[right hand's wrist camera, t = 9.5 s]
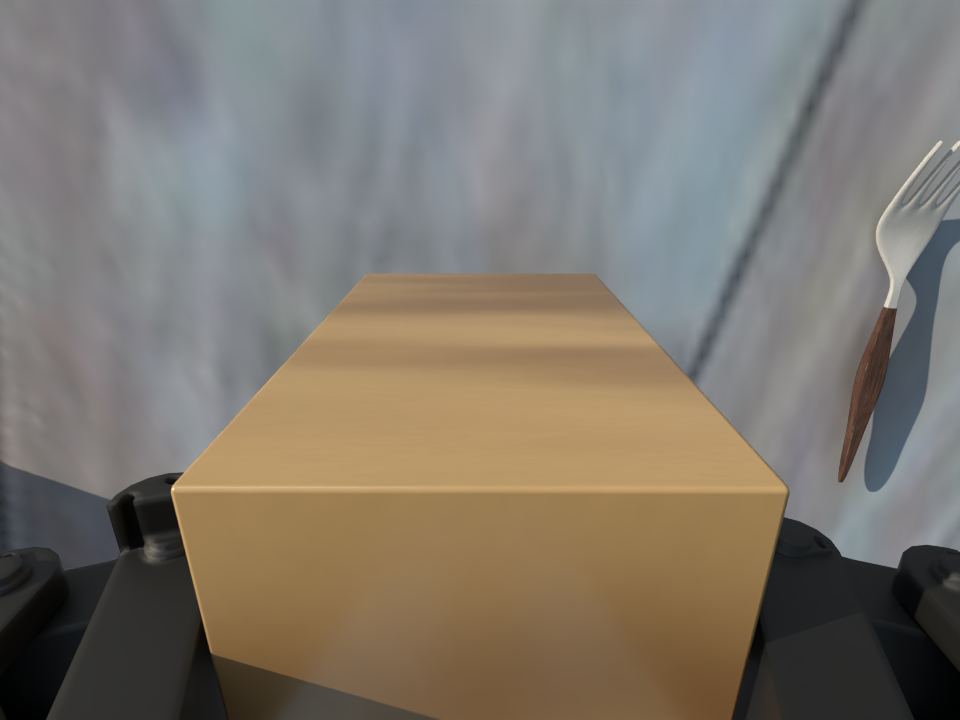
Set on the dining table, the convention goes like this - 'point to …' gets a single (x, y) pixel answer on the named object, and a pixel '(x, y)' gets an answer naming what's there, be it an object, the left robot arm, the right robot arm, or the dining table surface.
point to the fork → (895, 287)
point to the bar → (480, 517)
